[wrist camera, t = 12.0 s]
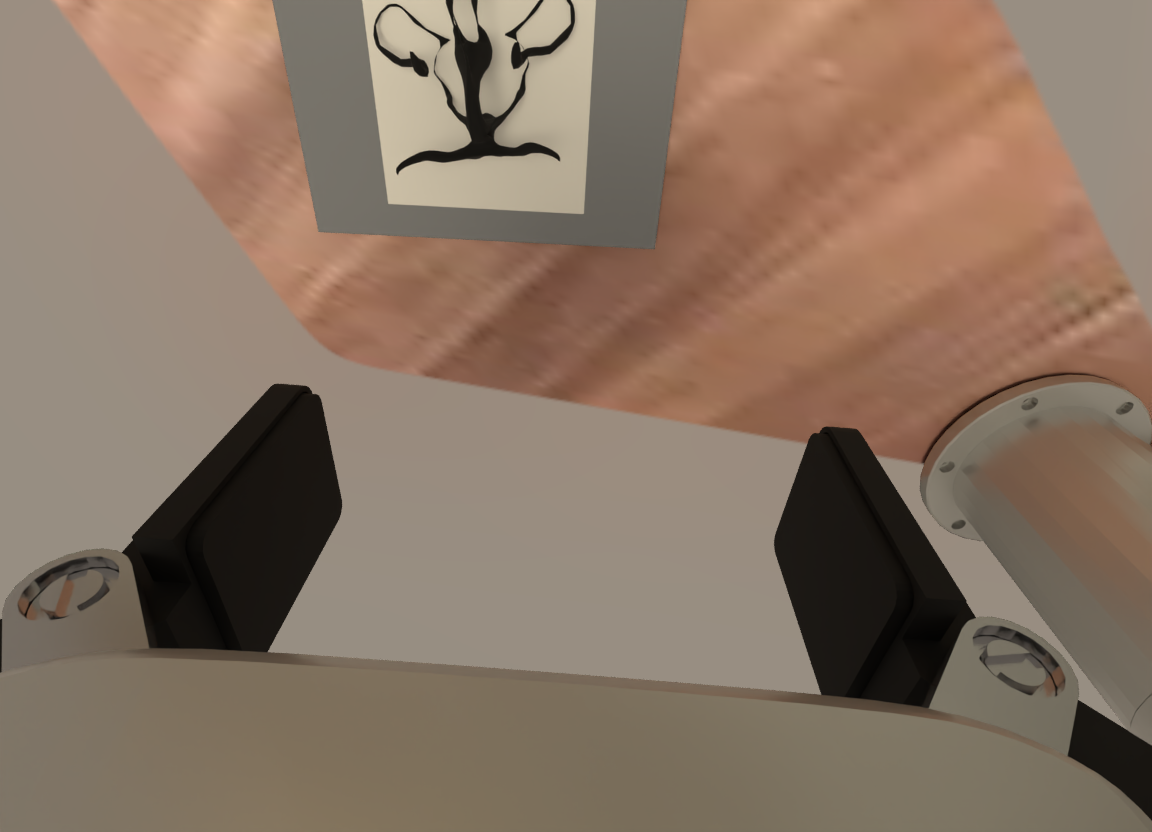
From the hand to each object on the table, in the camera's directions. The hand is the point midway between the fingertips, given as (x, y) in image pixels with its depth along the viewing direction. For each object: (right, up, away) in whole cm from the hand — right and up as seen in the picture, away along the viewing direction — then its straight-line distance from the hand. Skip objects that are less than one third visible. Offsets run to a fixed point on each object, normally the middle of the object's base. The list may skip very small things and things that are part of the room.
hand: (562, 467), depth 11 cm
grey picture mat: (-4, +15, +14) cm, 21 cm away
